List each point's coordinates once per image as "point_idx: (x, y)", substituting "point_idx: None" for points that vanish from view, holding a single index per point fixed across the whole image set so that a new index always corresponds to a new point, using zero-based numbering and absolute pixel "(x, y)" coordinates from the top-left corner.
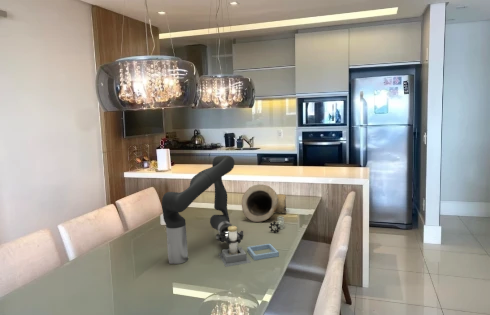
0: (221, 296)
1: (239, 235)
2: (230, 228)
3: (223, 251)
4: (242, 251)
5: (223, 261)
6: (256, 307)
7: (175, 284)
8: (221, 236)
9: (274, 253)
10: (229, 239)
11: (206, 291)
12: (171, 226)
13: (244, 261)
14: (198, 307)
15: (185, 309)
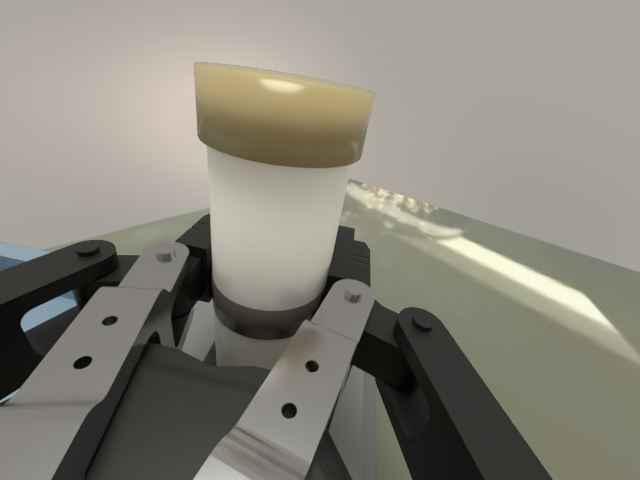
0: (414, 224)
1: (105, 281)
2: (344, 84)
3: (357, 461)
4: (190, 339)
5: (367, 401)
6: None
7: (618, 343)
8: (443, 356)
9: (25, 250)
10: (342, 231)
11: (460, 254)
12: None
13: None
14: (472, 222)
15: (504, 230)
